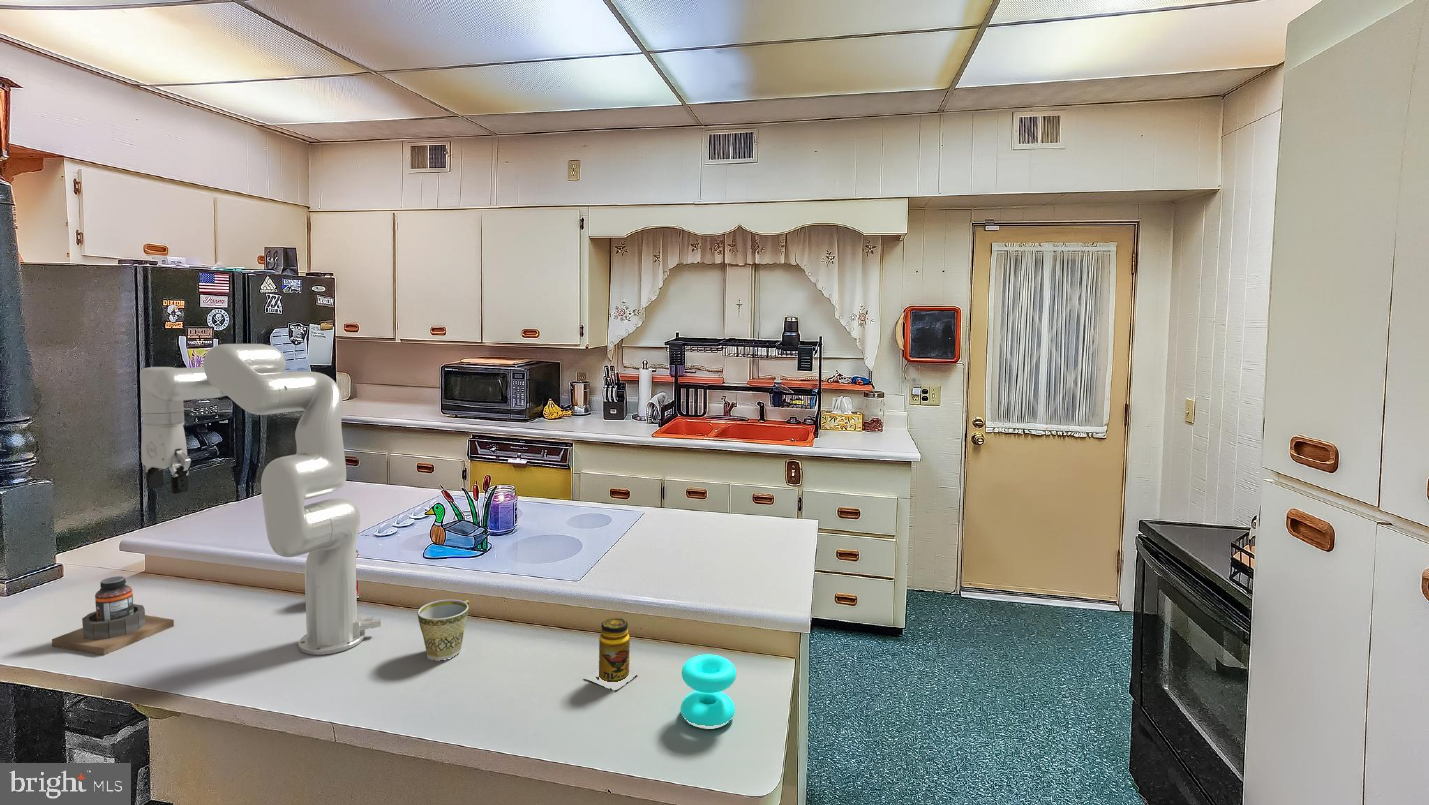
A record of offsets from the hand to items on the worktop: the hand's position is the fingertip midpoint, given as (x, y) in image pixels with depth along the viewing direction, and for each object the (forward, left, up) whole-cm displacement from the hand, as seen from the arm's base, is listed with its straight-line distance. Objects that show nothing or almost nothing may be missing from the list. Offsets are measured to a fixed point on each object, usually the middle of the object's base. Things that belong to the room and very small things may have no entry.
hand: (167, 489), depth 155 cm
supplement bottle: (+8, +15, -27) cm, 32 cm away
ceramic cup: (-53, +56, -28) cm, 82 cm away
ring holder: (+8, +15, -28) cm, 33 cm away
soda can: (-36, +16, -28) cm, 49 cm away
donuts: (-89, +104, -29) cm, 140 cm away
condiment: (-79, +83, -29) cm, 118 cm away
